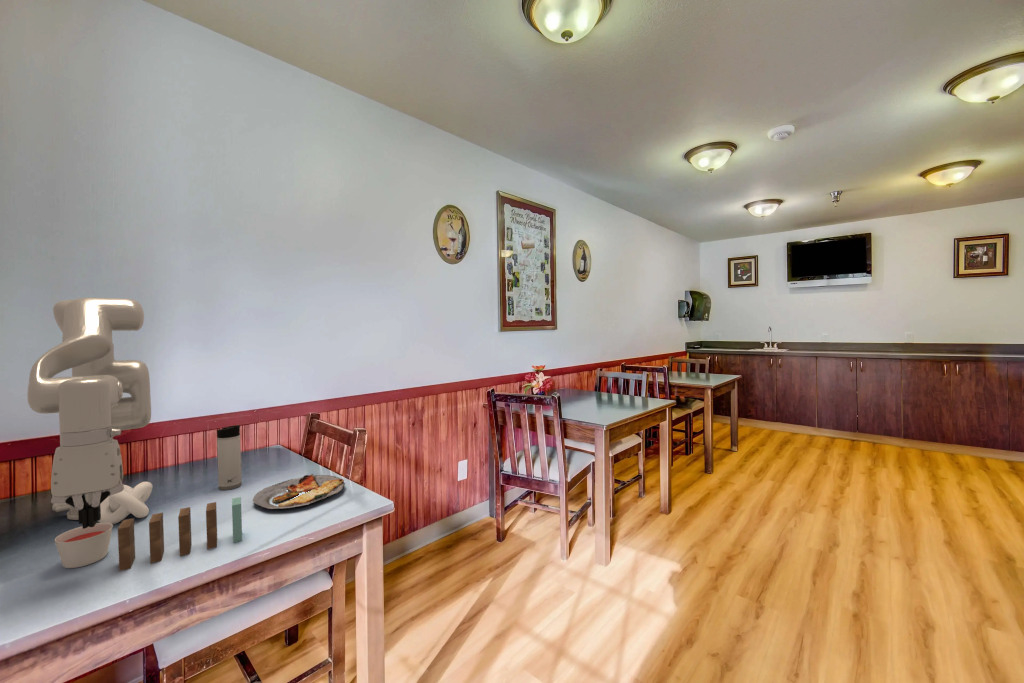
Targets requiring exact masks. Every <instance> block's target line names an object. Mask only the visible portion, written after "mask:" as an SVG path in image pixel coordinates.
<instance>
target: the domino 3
mask: <svg viewBox="0 0 1024 683" xmlns="http://www.w3.org/2000/svg"><path fill="white" fill-rule="evenodd" d="M191 517H192V516H191V507H190V506H188V507H184V508H180V510H179V513H178V516H177V518H178V519H177V520H178V541H179V542H178V547H179V557H182V556H187V555H191V549H192V521H191V520H192V518H191Z"/></svg>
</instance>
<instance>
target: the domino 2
mask: <svg viewBox="0 0 1024 683" xmlns="http://www.w3.org/2000/svg"><path fill="white" fill-rule="evenodd" d="M148 530H149V531H148V534H149V560H150V561H149V562H150V564H154V563H157V562H162V559H163V557H164V553H165V534H164V512H158V513H153V514H151V518H150V519H149V522H148Z"/></svg>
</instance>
